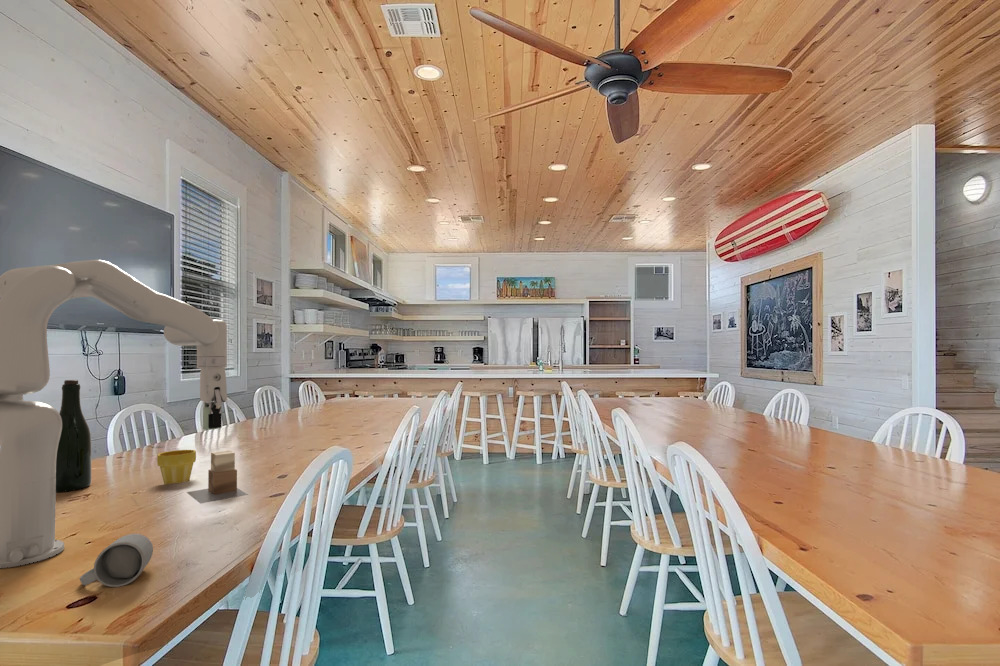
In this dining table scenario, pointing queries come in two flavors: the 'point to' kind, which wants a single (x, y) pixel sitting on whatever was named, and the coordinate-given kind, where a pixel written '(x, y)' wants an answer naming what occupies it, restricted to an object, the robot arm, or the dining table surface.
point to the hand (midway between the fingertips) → (212, 426)
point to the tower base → (222, 481)
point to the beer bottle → (73, 442)
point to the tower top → (222, 461)
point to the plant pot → (176, 465)
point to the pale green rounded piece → (206, 418)
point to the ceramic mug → (120, 561)
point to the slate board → (207, 496)
